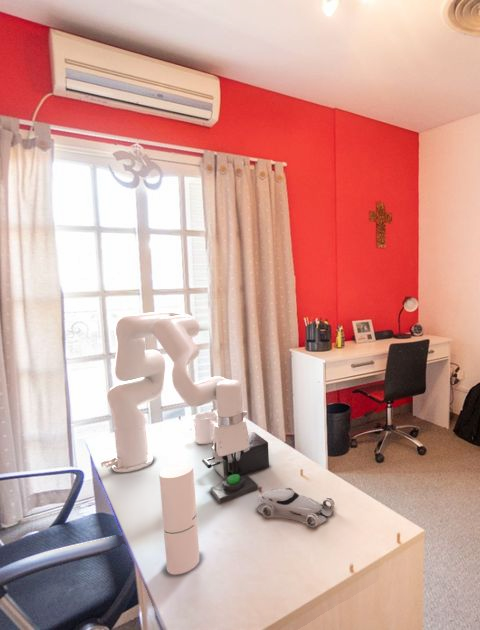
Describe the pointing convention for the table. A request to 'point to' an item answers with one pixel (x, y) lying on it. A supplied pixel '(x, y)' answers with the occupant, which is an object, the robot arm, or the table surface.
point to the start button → (233, 479)
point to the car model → (294, 507)
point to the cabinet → (253, 456)
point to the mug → (205, 427)
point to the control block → (233, 488)
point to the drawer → (217, 464)
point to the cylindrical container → (179, 518)
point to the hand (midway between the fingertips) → (233, 471)
